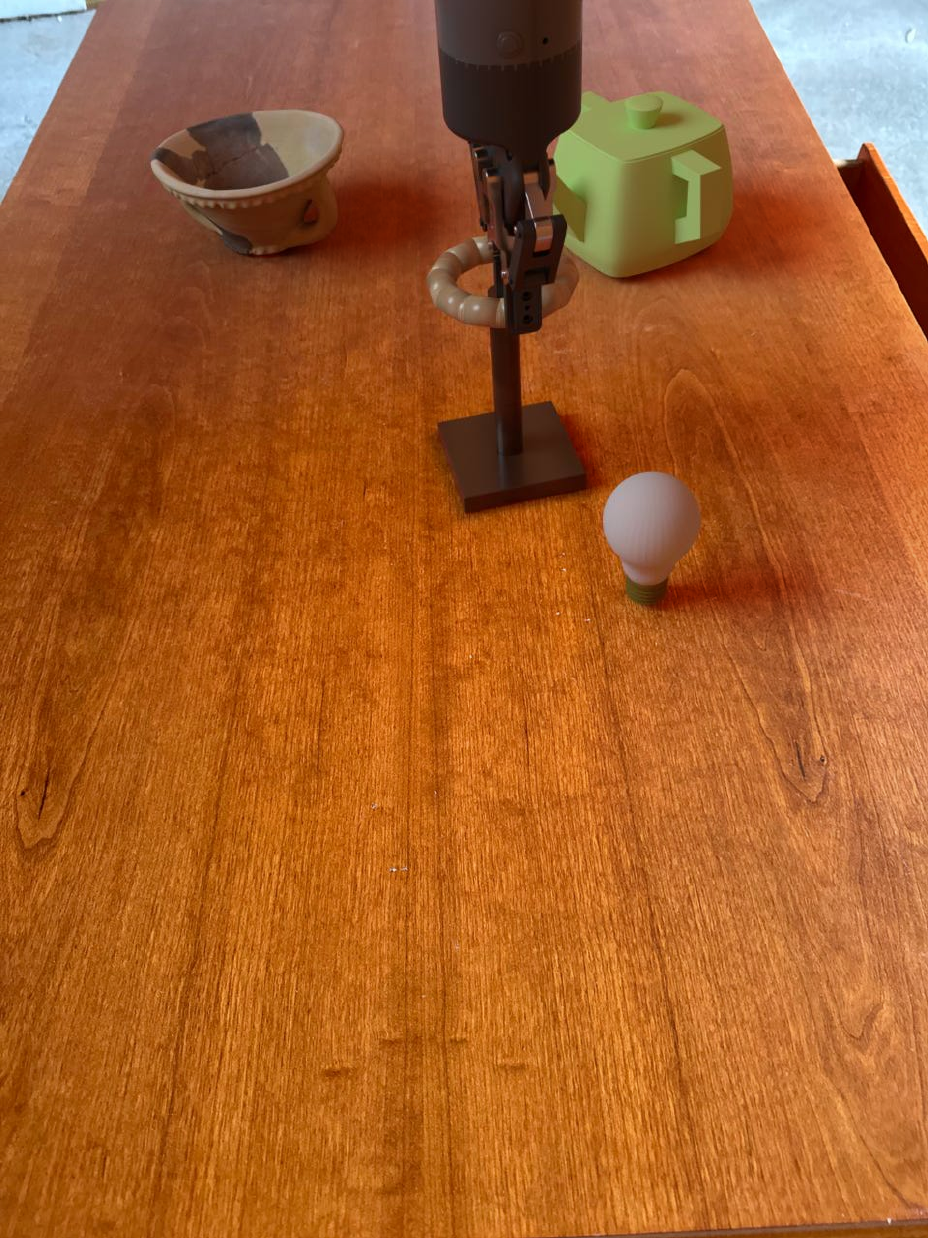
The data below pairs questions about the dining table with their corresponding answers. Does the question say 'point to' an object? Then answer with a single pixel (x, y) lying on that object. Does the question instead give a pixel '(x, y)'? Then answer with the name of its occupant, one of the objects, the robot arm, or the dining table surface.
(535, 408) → the stand
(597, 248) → the teapot
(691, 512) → the light bulb
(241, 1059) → the dining table surface
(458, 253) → the beige segmented ring
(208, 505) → the dining table surface
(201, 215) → the bowl
